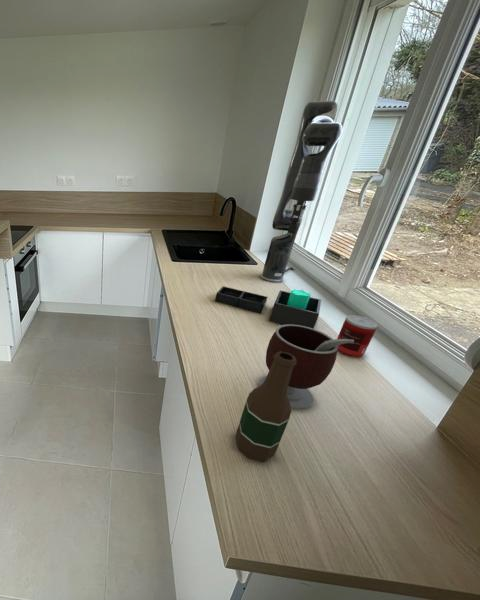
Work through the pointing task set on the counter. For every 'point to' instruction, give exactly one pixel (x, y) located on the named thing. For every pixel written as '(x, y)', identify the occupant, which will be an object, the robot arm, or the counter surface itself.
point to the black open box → (294, 311)
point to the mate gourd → (304, 359)
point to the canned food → (356, 335)
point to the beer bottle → (266, 411)
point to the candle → (298, 299)
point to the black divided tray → (241, 299)
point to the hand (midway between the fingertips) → (292, 231)
